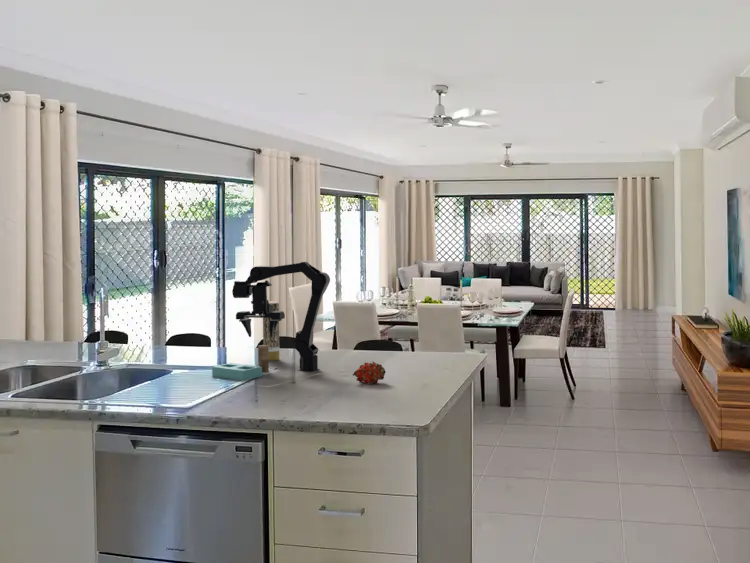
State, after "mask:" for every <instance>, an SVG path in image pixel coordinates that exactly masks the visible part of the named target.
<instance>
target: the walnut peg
mask: <svg viewBox="0 0 750 563" xmlns="http://www.w3.org/2000/svg"><path fill="white" fill-rule="evenodd" d="M257 360H258V362H257V366H260V367H262V372H269V369H270V364H269V362H270V361H269V352H268V345H263V344H262V345H257Z"/></svg>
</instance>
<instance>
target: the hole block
mask: <svg viewBox="0 0 750 563" xmlns="http://www.w3.org/2000/svg"><path fill="white" fill-rule="evenodd" d="M211 368H212V369H211V370H212V371H211V372H212V374H211V375H212V377H216V378H224V379H231V380H237V381H247V380H252V379H255V378H259V377H262V376H263V375H262V367H260V366H258V365H251V364H241V363H233V362H227V363H224V364H219V365H215V366H212V367H211Z"/></svg>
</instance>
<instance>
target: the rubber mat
mask: <svg viewBox="0 0 750 563" xmlns="http://www.w3.org/2000/svg"><path fill="white" fill-rule="evenodd" d="M278 372H282V370H280V369H272V368H269V372H262V376H265V375H269V374H274V373H278Z"/></svg>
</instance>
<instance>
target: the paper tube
mask: <svg viewBox="0 0 750 563" xmlns="http://www.w3.org/2000/svg"><path fill="white" fill-rule="evenodd" d="M268 301H269V300H268ZM269 304H270V305H272V306H273V312H274V311H280V303H279V301H275V300H270V301H269ZM262 315H265V314H262ZM270 320H272V319H271V318H262V337H263V338H262V340H263V341H262V342H263V344H262V345H268V352H269V362H275V361H279V360H280V321H279V322H278V323H277V325H276V328H275V331H274V334H273V337H271V336H270Z"/></svg>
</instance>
